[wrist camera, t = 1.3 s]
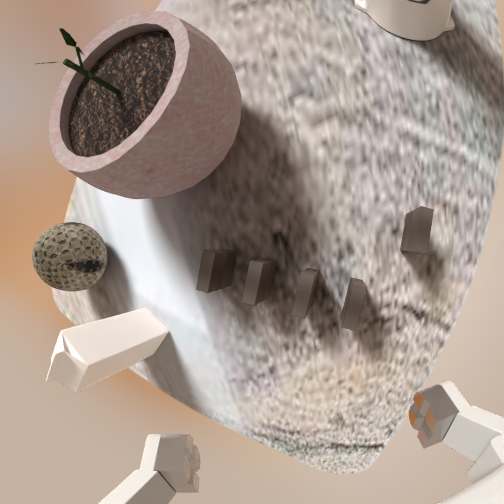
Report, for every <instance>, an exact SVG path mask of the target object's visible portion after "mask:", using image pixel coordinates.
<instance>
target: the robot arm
mask: <svg viewBox="0 0 504 504" xmlns="http://www.w3.org/2000/svg"><path fill="white" fill-rule="evenodd" d="M452 4H453V0H355V6H356V7H357V8H358V9H360V10H362V11H363V12H365V13H367V14H368V15H369V16H370V17H371V18H372V19H373V20H374V21H375V22H376V23H377V24H378V25H380V26H381V27H382V28H384V29H385V30H387V31H389V32H391V33H393V34H395V35H398V36H400V37H403V38H407V39H411V40H421V41H423V40H431V39H434V38H436V37H438V36H439V35H440V34H441V33H442V32H444V31H449V30H453V29H454V26H455V23H454V21H453V19H452V17H451V15H450V13H451V9H452ZM413 400H414V403H413V404H412V406H411V407H410V410H409V419H410V423H411V425H412V427H413V428H414V429H416V430H418V431H419V432H418V438H419V440H420V442H421V444H422V446H423V448H427V447H429V446H432V445H434V444H436V443H439V442H441V441H442V443H444V444H446V445H447V446H449V447H451V448H452V449H454V450H455V451H457V452H459V453H460V454H462V455H463V456H465V457H467V458H468V459H470V460H472V461H473V462H475V463H474V464H473V465H472V466H471V468H470V469H469V470H468V472H467V475H468V477H469V479H470V481H471V483H472V485H470V486H469V487H467V488H465V489H463V490H461V491H460V492H458V493H456V494H454V495H452V496H450V497H448V498H446V499H444V500H442V501H440V502H438V503H436V504H504V418H503V417H501V416H498V415H496V414H493V413H491V412H488V411H485V410H483V409H481V408H478V407H476V406H471V407H470V406H469V404H468V403H467V401H466V400H465V399H464V397H463V396H462V395H461V393H460V392H459V390H458V389H457V388H456V386H455V385H454V384H453V383H452V381H450V380H448V381H445V382H443V383H440V384H438V385H435V386H432V387H430V388H427V389H424V390H422V391H419V392H417V393H416V394H415V395H414V397H413ZM199 469H200V454H199V451H198V448H197V446H195V445H194V444H193V439H192V437H191V435H164V434H149V435H148V437H147V439H146V443H145V448H144V453H143V456H142V461H141V466H140V470H135V471H134V472H133V473H132V474H131V475H129V476H128V477H127V478H126V479H125V480H124V481H123V482H122V483H121V484H120V485H119V486H118V487H117V488H115V489H114V490H113V491H112V492H111V493H110V494H109V495H107V496H106V497H105V498H104V499H103V500H102V501H101V502H100V503H98V504H168V503H169V502H170V501H171V500H172V498H173V497H174V496H175V494H176V492H198V490H199V477H198V475H197V474H196V472H197V471H198V470H199Z"/></svg>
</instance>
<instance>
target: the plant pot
mask: <svg viewBox="0 0 504 504" xmlns="http://www.w3.org/2000/svg"><path fill="white" fill-rule="evenodd" d="M60 31H61V33H62V35H63V38H64V40H65V42H66V44H67V45H70V46H74V47H75V48H76V52H77V57H76V59H75V60H74V61H73V62H72V61H70V60H68V59H65V60H64V62H63V64H64V65H66V66H68V67H69V69H68V71H67V72H66V74H65V76H64V77H63V79H62V81H61V84H60V86H59V88H58V90H57V93H56V95H55V98H54V101H53V105H52V109H51V113H50V122H49V138H50V144H51V149H52V151H53V153H54V155H55V157H56V159H57V161H58V162H59V163H60V164H62V165H63V166H64V167H65V168H66V169H68V170H69V171H70V172H72V173H73V174H74V175H76V176H77V177H79V178H80V179H82V180H83V181H85V182H87V183H88V184H90V185H92V186H94V187H96V188H98V189H100V190H102V191H105V192H108V193H112V194H115V195H119V196H123V197H126V198H131V199H145V198H161V197H167V196H170V195H173V194H175V193H178V192H181V191H183V190H186V189H189V188H191V187H193V186H194V185H195V184H197V183H198V182H200V181H201V180H203V179H204V178H206V177H208V176H209V175H210V174H211V173H212V172H213V171H214V170H215V169H216V167H217V166H218V165H219V164H220V163H221V162H222V161H223V160H224V158H225V157H226V155H227V153H228V152H229V150H230V148H231V147H232V145H233V143H234V140H235V137H236V134H237V131H238V128H239V125H240V118H241V93H240V90H239V86H238V82H237V79H236V75H235V72H234V69H233V67H232V65H231V64H230V62H229V61H228V59H227V58H226V57H225V55H224V54H223V53H222V51H221V50H220V49H219V47H218V46H217V45H216V44H215V43H214V42H213V41H212V40H211V39H210V38H209V37H208V36H206V35H205V34H204V33H202V32H201V31H200V30H198V29H197V28H195V27H194V26H192V25H190V24H189V23H187V22H185V21H183V20H181V19H180V18H178V17H176V16H174V15H172V14H170V13H168V12H164V11H146V12H142V13H137V14H133V15H131V16H128V17H126V18H124V19H122V20H119V21H117V22H116V23H114V24H113V25H111V26H110V27H108V28H107V29H105V30H104V31H102V32H101V33H100V34H99V35H97V36H96V37H95V38H94V39H93V40H92V41H91V42H90V43H89V44H88V45H87V46H86V47H85V48H84V49H83V50H82V51H81V50H80V48H79V47H76V42H75V41H74V39H73V38H72V37H71V36H70V34H68V33H67V32H66V31H65V30H64V29H63V28H62V29H60ZM80 52H81V53H80ZM49 63H55V62H49ZM38 64H39V63H38ZM42 64H43V63H42Z"/></svg>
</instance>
